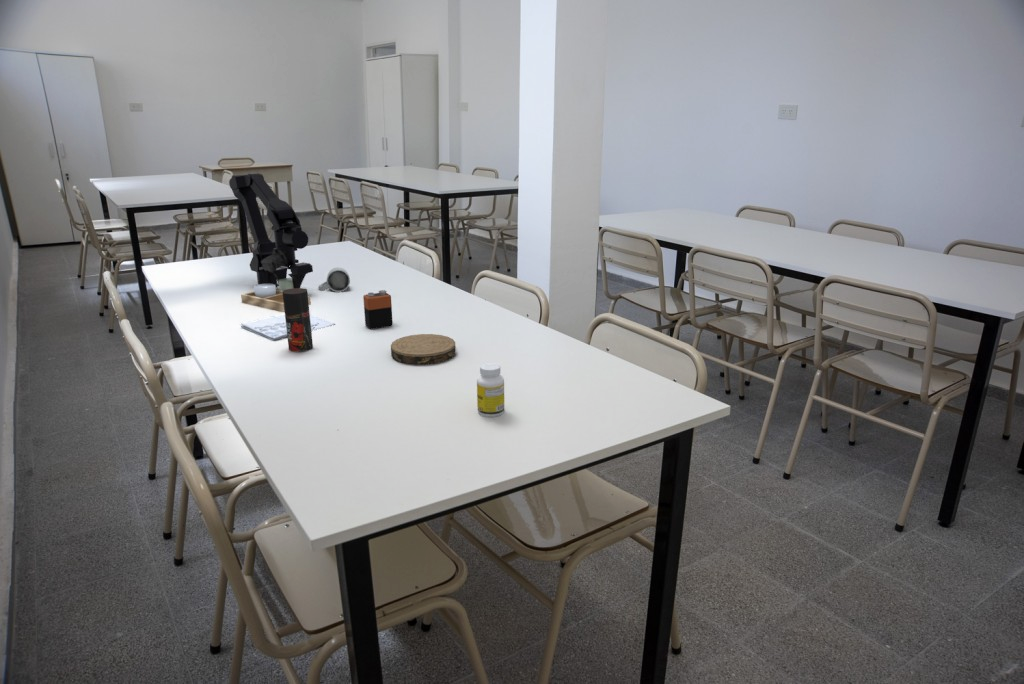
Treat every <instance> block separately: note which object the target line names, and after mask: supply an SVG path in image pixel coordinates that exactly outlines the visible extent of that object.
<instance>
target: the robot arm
mask: <svg viewBox="0 0 1024 684" xmlns="http://www.w3.org/2000/svg"><path fill="white" fill-rule="evenodd" d="M228 183H229V189H231V191H232V193H233V195H234V197H235V198H236V199H237V200H238V201H239V202H241V205H242V207H243V211H244V214H245V217H246V220H247V223H248V226H249V227H248V228H249V229H250V234H251V236H252V239H253V242H254V245H253V247H252V251H251V253H252V257H251V260H250V262H249V267H250V271H252V272H255V273H256V278H257V279H256V280H257V285H258V284H267V283H269V284H275V286H276V287H279V280H280V279H283V278H288V276H289V278H292V281H293V287H294V288H301V286H302V284H303V282H304V280H305V277H306V275H307V274H310V273H313V272H314V270H313V269H314V268H313V265H312V263H310V262H299V259H296V251H297V252H298V249H299V250H301V249H302V250H303V249H304V248H305V247H307V246H308V244H309V236H308V234H307V233H306V232H305V231H303V230H302V225H301V221H300V219H299V218H298V217H299V216H298V215H297V214H296V212H295V210H294V208H293V207H292V206H291V205H290V203H288V202H287V201H285V200H282V199H281V198H279V197H278V195H277V194H276V193H275V191H274V190H273V189H272V188H271V187H270V185H269V184H268V183H267V181H266V180H265V177H264V175H263V174H262V173H259V172H257V173H256V172H255V173H247V174H236V175H232V176H231V178H230V179H229V180H228ZM257 197H258V199H259V200H260V201H261V203H262V205H263V206H264V207H265V209H266V216H267V219H268V221H270V223H271V224H272V226H271V228H270V230H272V231H273V233H274V241H272V240H271V239H270V238H269V235H268V232H267V229H266V226H265V221H264V219H263V216H262V213H261V210H260V206H259V204H258V199H257ZM288 270H290V272H291V273H288ZM287 274H288V276H287Z"/></svg>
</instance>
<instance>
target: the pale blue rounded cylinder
mask: <svg viewBox="0 0 1024 684" xmlns="http://www.w3.org/2000/svg"><path fill="white" fill-rule="evenodd" d="M276 287H277V286H275V284H269V283H267V284H258V283H257V284H255V285H254V286H253V290H254V291H255V297H259V298H266V297H270V296H274V295H276V290H277V289H276ZM254 291H253V292H254Z"/></svg>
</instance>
